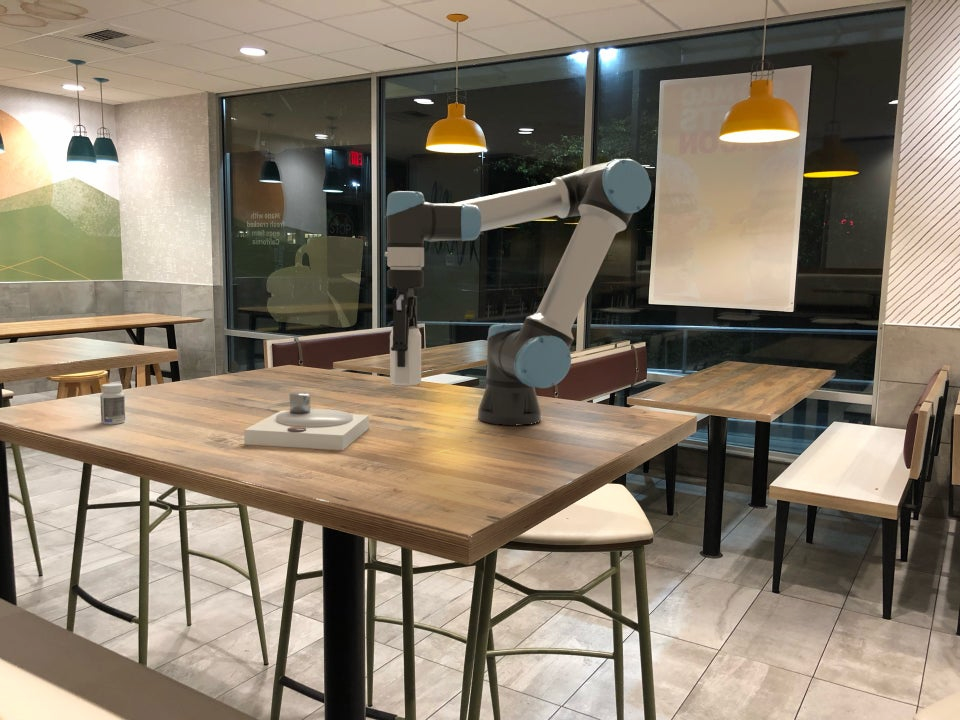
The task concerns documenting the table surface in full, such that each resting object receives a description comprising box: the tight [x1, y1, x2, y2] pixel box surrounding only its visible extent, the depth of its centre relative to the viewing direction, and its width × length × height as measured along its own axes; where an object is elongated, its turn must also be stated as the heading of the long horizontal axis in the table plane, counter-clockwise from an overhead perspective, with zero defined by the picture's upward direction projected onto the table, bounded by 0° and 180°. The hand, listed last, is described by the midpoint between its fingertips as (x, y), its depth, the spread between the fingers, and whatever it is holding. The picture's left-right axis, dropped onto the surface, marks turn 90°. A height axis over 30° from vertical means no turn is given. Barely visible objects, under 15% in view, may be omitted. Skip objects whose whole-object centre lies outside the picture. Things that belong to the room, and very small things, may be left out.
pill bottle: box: [99, 382, 126, 425], centre depth 162 cm, size 5×5×8 cm
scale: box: [243, 408, 370, 451], centre depth 157 cm, size 20×21×4 cm
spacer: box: [289, 391, 311, 414], centre depth 163 cm, size 4×4×4 cm
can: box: [389, 326, 422, 388], centre depth 155 cm, size 6×6×12 cm
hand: (405, 379), depth 156 cm, fingers closed on can, 6 cm apart
